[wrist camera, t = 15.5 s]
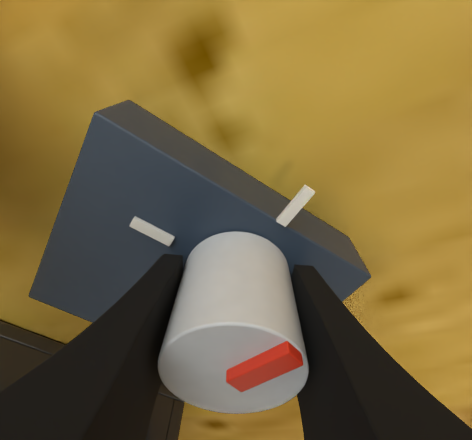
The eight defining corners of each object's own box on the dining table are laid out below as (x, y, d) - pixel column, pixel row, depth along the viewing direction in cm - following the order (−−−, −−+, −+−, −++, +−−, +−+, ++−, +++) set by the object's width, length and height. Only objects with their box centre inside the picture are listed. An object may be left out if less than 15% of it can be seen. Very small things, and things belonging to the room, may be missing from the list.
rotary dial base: (63, 256, 13) (23, 300, 11) (145, 57, 9) (109, 57, 6) (245, 338, 15) (245, 387, 13) (374, 213, 11) (407, 252, 9)
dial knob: (231, 323, 11) (225, 440, 8) (163, 268, 10) (119, 379, 6) (309, 280, 10) (342, 397, 6) (243, 209, 8) (242, 309, 5)
